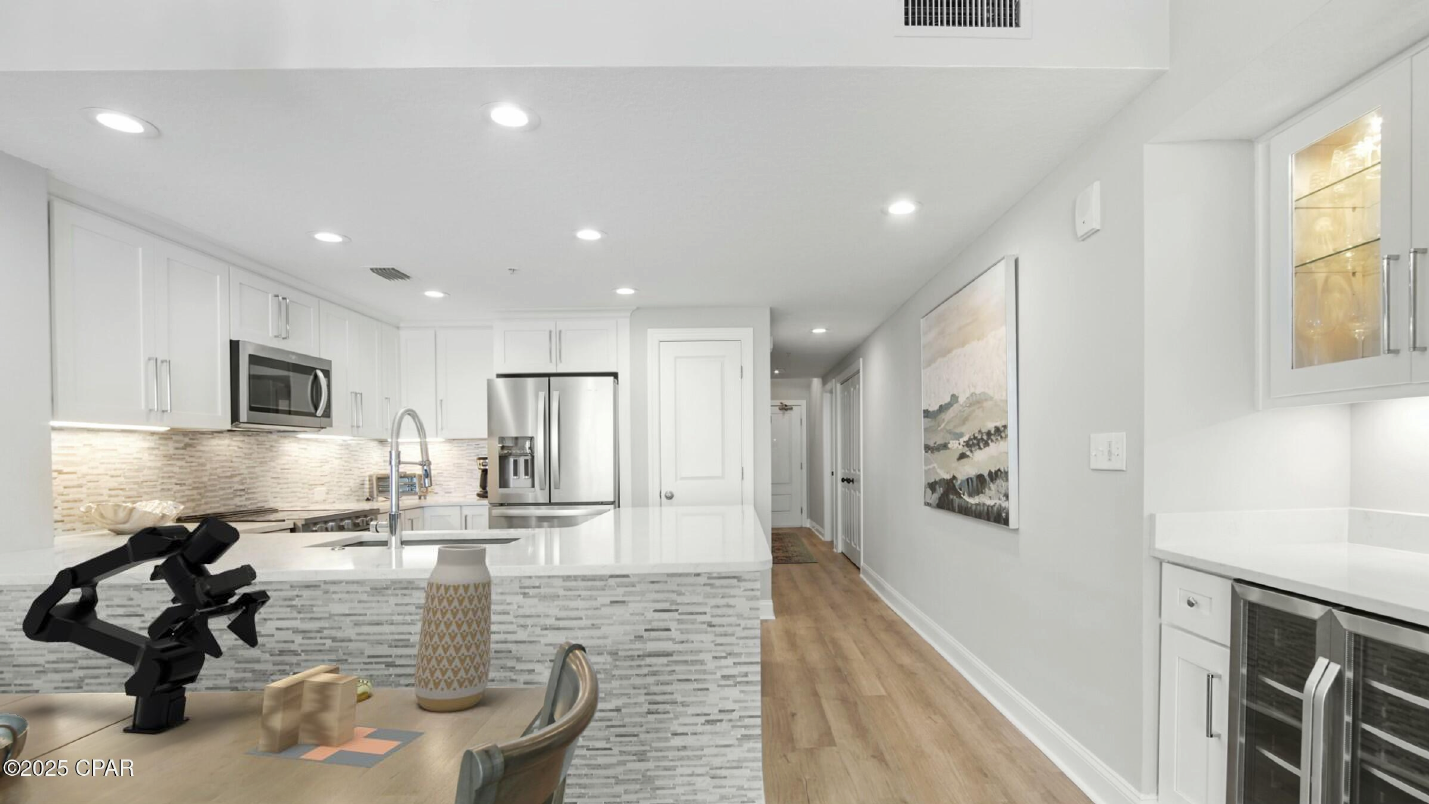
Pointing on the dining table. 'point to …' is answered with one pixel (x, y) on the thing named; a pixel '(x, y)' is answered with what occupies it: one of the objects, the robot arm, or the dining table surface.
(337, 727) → the maple T block
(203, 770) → the dining table surface
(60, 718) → the dining table surface
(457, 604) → the vase
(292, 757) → the slate mat
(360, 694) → the decorated donut
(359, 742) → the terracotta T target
